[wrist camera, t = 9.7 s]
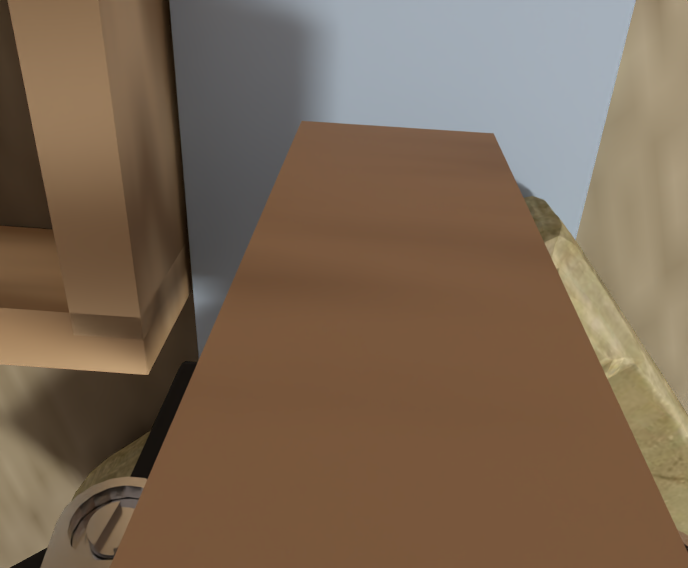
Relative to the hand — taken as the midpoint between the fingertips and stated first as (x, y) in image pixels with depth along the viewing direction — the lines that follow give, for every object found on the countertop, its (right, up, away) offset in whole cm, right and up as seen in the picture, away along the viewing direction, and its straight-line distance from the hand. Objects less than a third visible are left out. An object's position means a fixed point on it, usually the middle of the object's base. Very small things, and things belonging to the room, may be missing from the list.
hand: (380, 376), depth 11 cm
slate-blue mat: (0, +3, +6) cm, 7 cm away
